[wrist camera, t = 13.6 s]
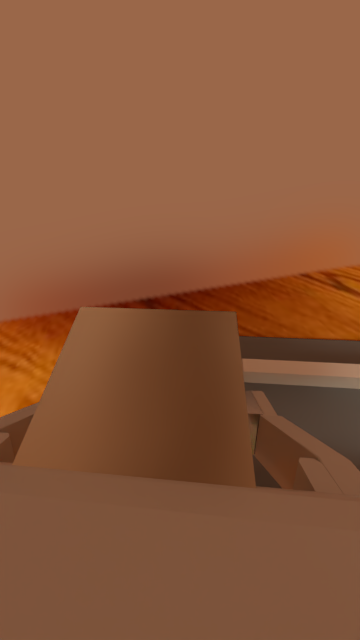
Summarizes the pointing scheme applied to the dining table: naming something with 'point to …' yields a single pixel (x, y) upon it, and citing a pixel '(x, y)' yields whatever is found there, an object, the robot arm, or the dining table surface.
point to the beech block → (146, 399)
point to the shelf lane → (307, 389)
